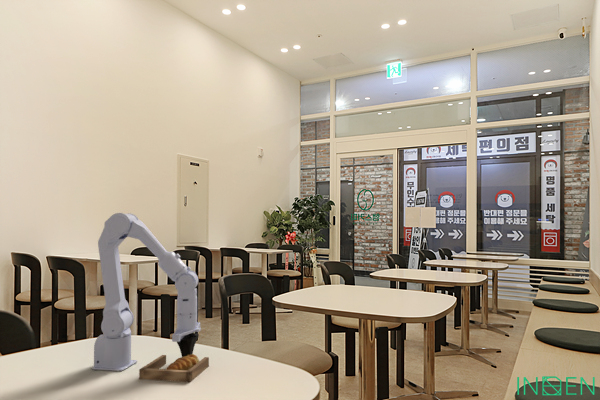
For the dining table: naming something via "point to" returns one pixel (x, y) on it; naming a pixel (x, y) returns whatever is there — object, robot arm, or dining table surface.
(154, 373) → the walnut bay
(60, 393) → the dining table surface
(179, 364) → the pastry
